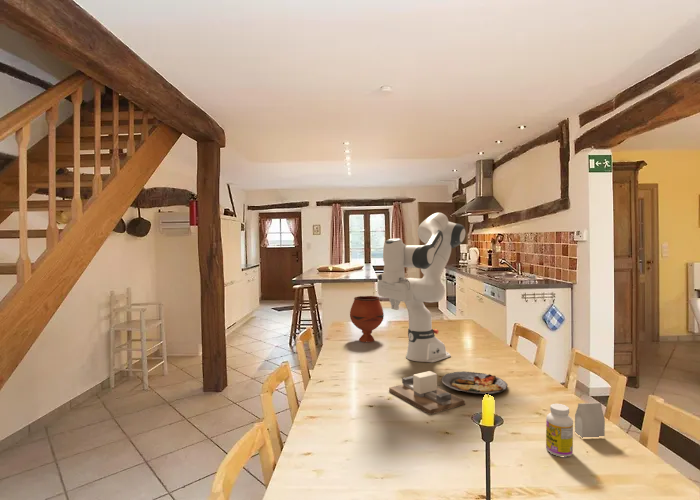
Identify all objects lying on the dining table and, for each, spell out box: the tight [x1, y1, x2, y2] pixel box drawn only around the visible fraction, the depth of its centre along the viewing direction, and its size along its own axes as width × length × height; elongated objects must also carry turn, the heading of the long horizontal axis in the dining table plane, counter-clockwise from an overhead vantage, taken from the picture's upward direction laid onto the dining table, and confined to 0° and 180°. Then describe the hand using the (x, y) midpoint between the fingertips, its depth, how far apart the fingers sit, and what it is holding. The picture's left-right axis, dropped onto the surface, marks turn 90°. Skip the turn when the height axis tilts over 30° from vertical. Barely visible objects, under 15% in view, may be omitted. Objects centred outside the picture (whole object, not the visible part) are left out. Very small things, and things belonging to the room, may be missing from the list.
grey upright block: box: [574, 402, 606, 438], centre depth 124 cm, size 4×7×10 cm, turn 92°
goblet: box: [349, 295, 385, 343], centre depth 238 cm, size 19×19×25 cm
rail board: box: [388, 375, 466, 415], centre depth 155 cm, size 16×24×4 cm, turn 29°
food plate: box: [441, 371, 508, 395], centre depth 166 cm, size 25×23×4 cm
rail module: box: [412, 370, 438, 397], centre depth 155 cm, size 8×4×7 cm, turn 119°
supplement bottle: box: [545, 403, 574, 458], centre depth 115 cm, size 7×7×13 cm
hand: (395, 309), depth 176 cm, fingers closed
